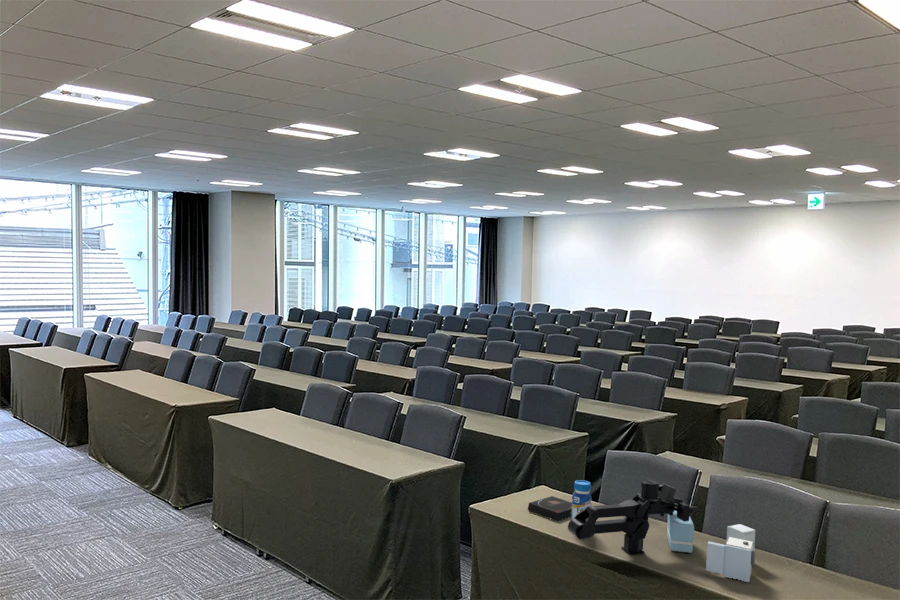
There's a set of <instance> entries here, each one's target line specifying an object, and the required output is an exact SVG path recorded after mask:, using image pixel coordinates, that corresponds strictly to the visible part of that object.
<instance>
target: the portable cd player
mask: <svg viewBox="0 0 900 600" xmlns="http://www.w3.org/2000/svg"><path fill="white" fill-rule="evenodd" d="M571 503H572V501H571V502H570V501H569V500H565V499H562V498H558V497H555V496H554V495H553V496H548V497H544V498H540V499H538V500H534V501H531V502H528V506H527V510H529V512H531V511H532V512H531V513H535V514H536V513H537V515H539V514H540V515H539V516H542V515H543V516H542V517H545V516H546V518H547V517H548V519H550V518H551V520H553V521H555V520H556V522H560V521H563V520H566V519H568V517H569V518H571V512H572V506H571ZM565 518H566V519H565ZM562 519H563V520H562ZM559 520H560V521H559Z"/></svg>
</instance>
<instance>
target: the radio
mask: <svg viewBox="0 0 900 600" xmlns="http://www.w3.org/2000/svg"><path fill="white" fill-rule="evenodd" d="M666 525H667V527H666V537H667V541H668V545H669V548H670V550H671V551H672V552H676V551H678V552H677V553H684V552H688V554H691V553H693V545H694V540H695V524H694V522H693V520H692V518H691V516H690V517H689V521H686V522H684V521H682V520H680V519H678V517H677V511H675V510H674V512H673V515H672V516H671V515H669V514H667V524H666Z"/></svg>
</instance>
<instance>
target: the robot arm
mask: <svg viewBox="0 0 900 600" xmlns="http://www.w3.org/2000/svg"><path fill="white" fill-rule="evenodd" d="M640 485H641V486H640V487H641V493H637V494H635V495H634V496H632V498H631V499H626V500H623V501H622V502H621V503H616V504H615V503H614V504H613V503H612V504H602V505H601V504H600V505H599V504H598V505H593V504H592V505H591V506H588V507H587V508H586V509H585V510H584V511H582V512H581V513H579V514H577V515H576V516H575V517H574V518H573V519H572V520H571V519H570V521H569V522H568V525H567V530H568V532H570V534H572V535H573V536H575V537H576V538H577V539H578V540H586V539H590V538H592V537H593V536H594V535H597V534H607V533H621V532H623V533H624V537H623V546H621V549H622V550H623V551H624V552H626V553H628V554H629V555H638V554H639V555H640V554H644V553H645V551H644V550H643V549H644V539H646V537H647V534H648V531H649V528H650V522H649V516H660V517H664V516H665V515H668V514H669V515H671V516H672V515H673V512H674V510H675V511H677V517H678V519H680V520H682V521H684V522H686V521H689V517H690V518H691V516H692V515H693V514H694V513H696V512H697V511H698V506H691V505H689V504H687V503H685V502H683V501H684V500H683V499H681V498H678V497H677V498H676V497H675V495H676V492H677V488H675V487H673V486H671V485H669V484H666V483H661V484H660V482H659V481H657V480H654V479H646V480H644V481H642V482H641V484H640ZM640 502H641V503H640ZM617 517H624V518H619V519H618V518H617ZM587 518H588V520H586V519H587ZM601 518H617V519H604V520H598V519H601Z"/></svg>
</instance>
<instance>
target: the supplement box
mask: <svg viewBox="0 0 900 600" xmlns="http://www.w3.org/2000/svg"><path fill="white" fill-rule="evenodd" d="M729 537H732V538H737V539H742V540H747V541H751V542H753V548H752V551H755V546H756V545H755V544H756V529H754V528H751V527H749V526H748V525H747V526H746V525H743V524H740V523H738V524H733V525H728V526H727V528H726V541H725V542H726V543H727V541H728V539H729Z"/></svg>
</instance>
